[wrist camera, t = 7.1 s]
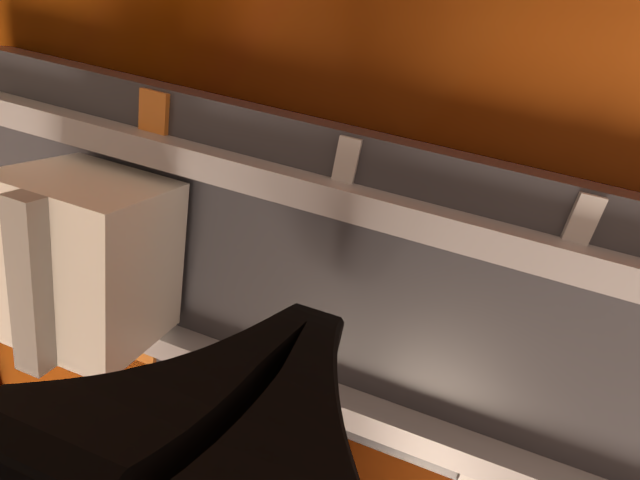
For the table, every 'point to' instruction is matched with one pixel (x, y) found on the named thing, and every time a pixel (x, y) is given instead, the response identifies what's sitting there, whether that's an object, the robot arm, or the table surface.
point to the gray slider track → (382, 266)
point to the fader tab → (88, 262)
